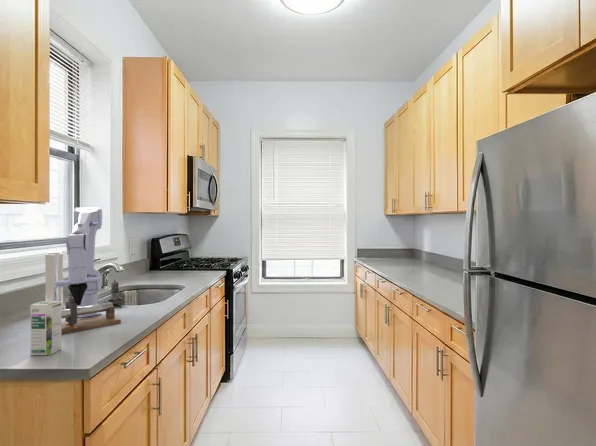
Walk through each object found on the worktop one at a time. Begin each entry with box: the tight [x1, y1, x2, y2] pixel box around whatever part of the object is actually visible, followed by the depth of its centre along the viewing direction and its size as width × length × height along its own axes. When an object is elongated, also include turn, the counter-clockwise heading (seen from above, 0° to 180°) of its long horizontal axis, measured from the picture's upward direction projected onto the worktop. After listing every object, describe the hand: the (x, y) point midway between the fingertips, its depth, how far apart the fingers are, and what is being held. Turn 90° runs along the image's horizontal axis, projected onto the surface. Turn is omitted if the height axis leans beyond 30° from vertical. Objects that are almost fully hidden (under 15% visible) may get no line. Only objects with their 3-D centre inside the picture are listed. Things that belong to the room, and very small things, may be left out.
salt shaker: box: [107, 279, 123, 308], centre depth 171 cm, size 6×6×12 cm
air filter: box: [44, 251, 64, 310], centre depth 166 cm, size 6×6×25 cm
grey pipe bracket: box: [65, 297, 78, 325], centre depth 136 cm, size 7×2×8 cm, turn 47°
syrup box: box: [29, 300, 62, 356], centre depth 111 cm, size 6×6×14 cm
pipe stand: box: [61, 302, 122, 335], centre depth 139 cm, size 12×22×7 cm, turn 137°
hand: (77, 304), depth 138 cm, fingers closed
